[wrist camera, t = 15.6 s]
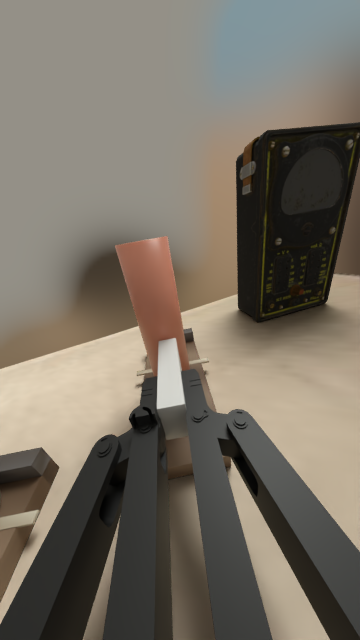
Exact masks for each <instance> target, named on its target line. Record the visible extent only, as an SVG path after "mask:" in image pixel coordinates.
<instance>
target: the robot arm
mask: <svg viewBox="0 0 360 640" xmlns="http://www.w3.org/2000/svg"><path fill="white" fill-rule="evenodd" d="M129 420H130V422H131V425H132V427H133V428H132V429H131V430H129V431H128V432H126V433H124V434H122V435H120V436H119V437H116V436H115V435H112V434H111V435H106V436H104V437H102V438H101V439H100V440H98V441H97V442H96V444H95V445H94V447H93V448H92V450H91V452H90V454H89V456H88V458H87V460H86V462H85V464H84V466H83V467H82V469H81V471H80V473H79V475H78V477H77V479H76V481H75V483H74V485H73V487H72V488H71V490H70V492H69V494H68V496H67V498H66V500H65V502H64V504H63V506H62V508H61V509H60V511H59V513H58V515H57V517H56V519H55V521H54V523H53V525H52V527H51V529H50V531H49V532H48V534H47V536H46V538H45V540H44V542H43V544H42V546H41V548H40V550H39V552H38V553H37V555H36V557H35V559H34V561H33V563H32V565H31V567H30V569H29V571H28V573H27V574H26V576H25V578H24V580H23V582H22V584H21V586H20V588H19V590H18V592H17V594H16V595H15V597H14V599H13V601H12V603H11V605H10V607H9V609H8V611H7V613H6V615H5V616H4V618H3V620H2V622H1V624H0V640H82V639H83V636H84V632H85V629H86V626H87V623H88V619H89V616H90V613H91V610H92V606H93V603H94V600H95V596H96V593H97V590H98V587H99V583H100V580H101V577H102V573H103V570H104V567H105V564H106V560H107V557H108V554H109V551H110V547H111V544H112V541H113V537H114V534H115V531H116V528H117V524H118V521H119V518H120V524H119V531H118V537H117V544H116V551H115V558H114V565H113V572H112V579H111V586H110V593H109V600H108V607H107V614H106V620H105V627H104V634H103V640H173V632H172V597H171V562H170V528H169V493H168V458H167V448H166V443H165V437H166V440H170V439H175V438H181V437H186V436H189V443H190V451H191V458H192V466H193V473H194V481H195V489H196V496H197V504H198V511H199V519H200V526H201V534H202V541H203V549H204V556H205V564H206V571H207V579H208V587H209V594H210V602H211V609H212V617H213V624H214V632H215V639H216V640H272V636H271V632H270V629H269V625H268V621H267V618H266V614H265V610H264V607H263V603H262V599H261V596H260V592H259V588H258V585H257V581H256V578H255V574H254V570H253V567H252V563H251V559H250V556H249V552H248V548H247V545H246V541H245V537H244V534H243V530H242V526H241V523H240V519H239V515H238V512H237V508H236V504H235V501H234V497H233V493H232V490H231V486H230V483H229V479H228V475H227V472H226V468H225V464H224V461H223V457H222V455H223V456H228V457H231V459H232V460H233V462H234V464H235V466H236V468H237V470H238V471H239V473H240V475H241V477H242V479H243V481H244V482H245V484H246V486H247V488H248V490H249V492H250V493H251V495H252V497H253V499H254V501H255V503H256V504H257V506H258V508H259V510H260V512H261V514H262V515H263V517H264V519H265V521H266V523H267V525H268V526H269V528H270V530H271V532H272V534H273V536H274V537H275V539H276V541H277V543H278V545H279V547H280V548H281V550H282V552H283V554H284V556H285V558H286V559H287V561H288V563H289V565H290V567H291V569H292V570H293V572H294V574H295V576H296V578H297V580H298V581H299V583H300V585H301V587H302V589H303V591H304V593H305V594H306V596H307V598H308V600H309V602H310V604H311V605H312V607H313V609H314V611H315V613H316V615H317V616H318V618H319V620H320V622H321V624H322V626H323V627H324V629H325V631H326V633H327V635H328V637H329V638H330V640H360V552H359V550H358V549H357V548H356V547H355V545H354V544H353V543H352V542H351V540H350V539H349V538H348V537H347V535H346V534H345V533H344V532H343V530H342V529H341V528H340V527H339V525H338V524H337V523H336V522H335V520H334V519H333V518H332V517H331V515H330V514H329V513H328V512H327V510H326V509H325V508H324V507H323V505H322V504H321V503H320V501H319V500H318V499H317V498H316V496H315V495H314V494H313V493H312V491H311V490H310V489H309V488H308V486H307V485H306V484H305V483H304V481H303V480H302V479H301V478H300V476H299V475H298V474H297V473H296V471H295V470H294V469H293V468H292V466H291V465H290V464H289V463H288V461H287V460H286V459H285V458H284V456H283V455H282V454H281V453H280V451H279V450H278V449H277V447H276V446H275V445H274V444H273V442H272V441H271V440H270V439H269V437H268V436H267V435H266V434H265V432H264V431H263V430H262V429H261V427H260V426H259V425H258V424H257V422H256V421H255V420H254V419H253V417H252V416H251V415H250V414H249V413H248V412H246V411H244V410H240V409H235V410H232V411H231V412H229V413H228V414H220V413H216V412H214V411H213V410H211V409H210V408H209V406H208V405H207V402H206V398H205V394H204V391H203V387H202V383H201V380H200V376H199V373H198V372H197V371H196V370H195V369H189V370H184V371H182V368H181V362H180V357H179V352H178V347H177V342H176V338H172V339H167V340H162V341H159V344H158V376H155V377H150V378H146V379H145V381H144V383H143V385H142V393H141V401H140V406H138V407H137V408H135V409H134V410H133V411H132V413H131V414H130V417H129ZM120 515H121V517H120Z"/></svg>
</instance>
